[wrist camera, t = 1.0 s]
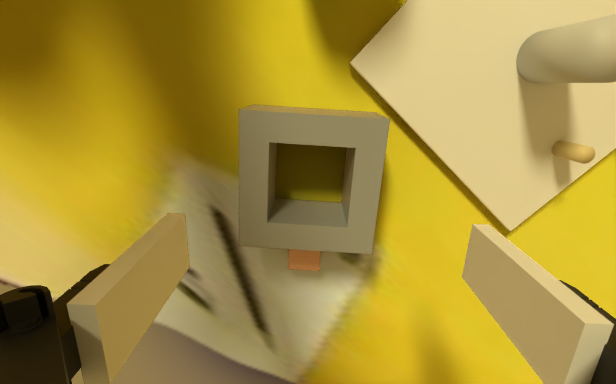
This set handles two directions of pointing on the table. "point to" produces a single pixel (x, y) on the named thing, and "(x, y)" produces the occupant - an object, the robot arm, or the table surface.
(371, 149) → the grey hollow box
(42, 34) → the table surface
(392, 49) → the post block
